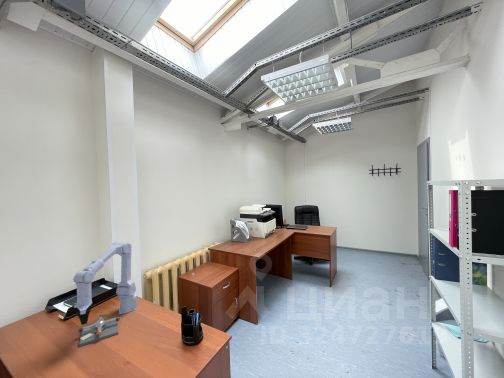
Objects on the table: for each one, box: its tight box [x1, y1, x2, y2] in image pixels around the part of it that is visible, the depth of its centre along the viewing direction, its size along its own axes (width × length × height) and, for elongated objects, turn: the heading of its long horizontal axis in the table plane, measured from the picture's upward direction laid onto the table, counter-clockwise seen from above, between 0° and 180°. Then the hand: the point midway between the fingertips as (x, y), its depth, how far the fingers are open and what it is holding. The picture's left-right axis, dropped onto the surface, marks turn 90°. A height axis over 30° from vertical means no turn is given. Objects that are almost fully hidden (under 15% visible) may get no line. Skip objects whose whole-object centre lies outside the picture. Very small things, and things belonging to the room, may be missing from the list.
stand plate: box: [78, 316, 119, 348], centre depth 115 cm, size 16×16×1 cm
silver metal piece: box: [77, 314, 121, 336], centre depth 115 cm, size 18×18×4 cm
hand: (84, 321), depth 108 cm, fingers open, 4 cm apart
